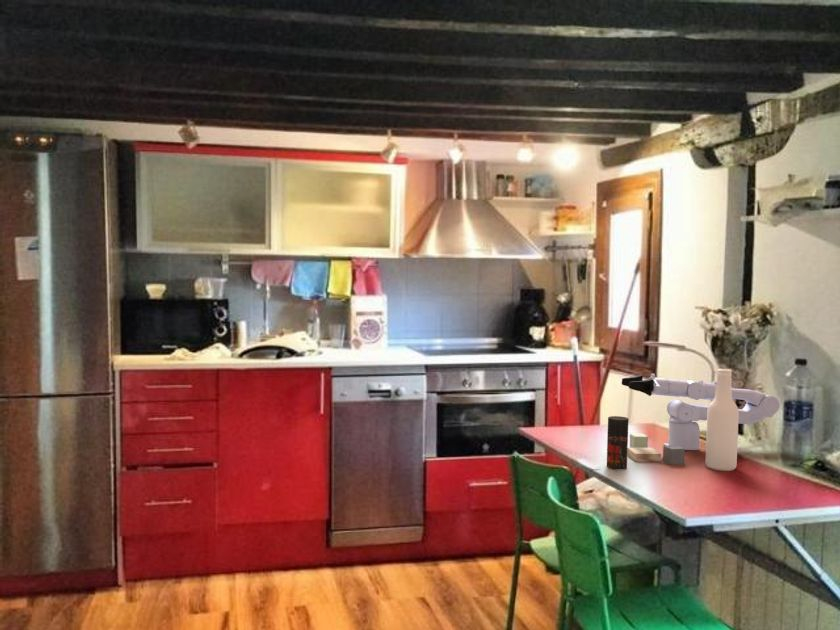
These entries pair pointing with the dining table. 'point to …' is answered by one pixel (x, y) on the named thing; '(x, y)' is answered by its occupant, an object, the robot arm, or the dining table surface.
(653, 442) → the dining table surface
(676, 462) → the grey cube
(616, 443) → the deodorant
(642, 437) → the sage cube
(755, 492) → the dining table surface
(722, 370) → the alcohol
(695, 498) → the dining table surface
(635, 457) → the birch slab
